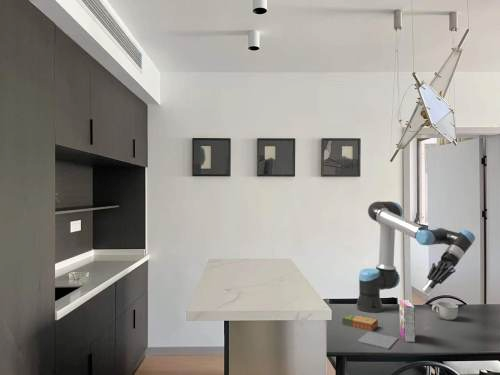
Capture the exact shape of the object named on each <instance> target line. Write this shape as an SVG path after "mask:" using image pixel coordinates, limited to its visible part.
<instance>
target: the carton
mask: <svg viewBox="0 0 500 375" xmlns="http://www.w3.org/2000/svg"><path fill="white" fill-rule="evenodd" d="M341 321H342V322H341V323H342V325H343V326H347V327H352V328H357V329H361V330H365V331H368V332H373V331H374V330H376V329H377V328H379V326H378V325H379V320H378V319H375V318H370V317H366V316H360V315H356V314H351V313H348V314H346V315H345V316H343V317H342V319H341Z"/></svg>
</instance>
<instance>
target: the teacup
mask: <svg viewBox="0 0 500 375" xmlns="http://www.w3.org/2000/svg"><path fill="white" fill-rule="evenodd" d="M435 309H436V310H435ZM431 311H432V312H433V313H434V314H436V315H437V316H438V317H439V318H440V319H443V320H446V321H453V320H455V319H457V318H458V313H459V306H458V305H457V304H456V303H453V302H450V301H449V302H448V301H442V300H441V301H437V302H436V304H433V305H432V306H431Z"/></svg>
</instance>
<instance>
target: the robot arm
mask: <svg viewBox="0 0 500 375" xmlns="http://www.w3.org/2000/svg"><path fill="white" fill-rule="evenodd" d="M403 214H404V213H403V208H402V206H401V205H400V204H399V203H398V202H396V201H395V202H394V201H387V200H386V201H381V200H380V201H378V200H377V201H374V202H372V203H370V205H369V206H368V209H367V215H368V216H369V218H370V219H371V220H373V221H374V222H377V223H378V225H379V226H380V228H379V229H380V230H379V231H380V232H379V252H378V254H379V255H378V264H377V265H376V266H375V267H373V268H372V267H370V268H363V269H361V270H360V271H359V274H358V275H359V277H358V279H359V282H358V285H359V286H358V288H359V289H358V290H359V291H358V292H359V293H358V294H359V296H358V298H357V302H356V306H355V307H356V309H357V310H359V311H362V312H367V313H381V312H383V311H384V306H383V302H382V300H381V296H380V295H381V294H380V291H381V290H382V291H383V290H390V289H391V290H392V289H393V288H394V289H395V288H396V287H398V285H399V283H400V280H401V279H400V277H401V276H400V274H399V271H397V267H396V266H395V265H394V264H395V262H394V261H395V243H396V242H395V240H396V239H395V237H396V235H395V234H396V231H399V232H401V233H403V234H404V235H407V236H409V237H411V238H413V239H415V241H417V243H418V244H419V245H422V246H434V245H447V248H446V249H445V250H444V251H445V252H443V253H442V255H441V257H440V260H439V261H438V262H437V263H434V262H433V263H432V266H431V268H430V270H429V272H428V274H427V276H426V278H427V279H428V281H427V283H426V284H425V285H424V287H423V288H422V291H423V293H424V294H426V295H429V294H430V292H431V291H432V290H433V289H434V288H435V287H436V286H437V285H438V284H440V285H442V283H444V282H445V281H446V280H447V279H448V278H449V277H450V276H452V274H454V273H456V269H455V267H456V266H457V265H458V264H459V262H460V260H462V257H464V255H465V254H466V252H467V251H468V250H469V249H470V248H471V246H472V245H473V243H474V241H475V240H476V236H475V234H474V233H472V231H470V230H467V229H461V230H460V231H459V232H455V231H452V230H448V229H445V228H442V227H435V228H433V229H429V228H427V227H424V226H422V225H420V224H418V223H415V222H413V221H411V220H410V219H407V218H404V217H403Z"/></svg>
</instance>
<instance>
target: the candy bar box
mask: <svg viewBox="0 0 500 375" xmlns="http://www.w3.org/2000/svg"><path fill="white" fill-rule="evenodd" d="M398 304H399V334H400V336H401V337H402V339H403V341H404V342H406V343H416V315H415V311H416V310H415V308H416V307H415V306H414V305H413V303H412V301H410V300H408V299H407V300H406V299H400V300H399V303H398Z"/></svg>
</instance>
